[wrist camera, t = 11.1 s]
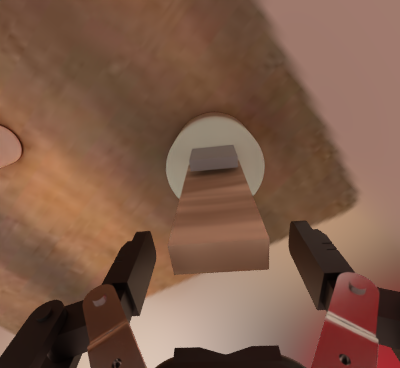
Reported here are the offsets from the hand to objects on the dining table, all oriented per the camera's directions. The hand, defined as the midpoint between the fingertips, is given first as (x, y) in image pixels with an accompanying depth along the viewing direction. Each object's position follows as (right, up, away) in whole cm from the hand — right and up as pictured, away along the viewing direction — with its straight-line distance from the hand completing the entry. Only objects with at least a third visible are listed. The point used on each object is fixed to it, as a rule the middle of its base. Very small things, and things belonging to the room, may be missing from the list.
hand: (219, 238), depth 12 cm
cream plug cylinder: (+1, +7, +16) cm, 17 cm away
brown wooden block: (0, +4, +9) cm, 10 cm away
